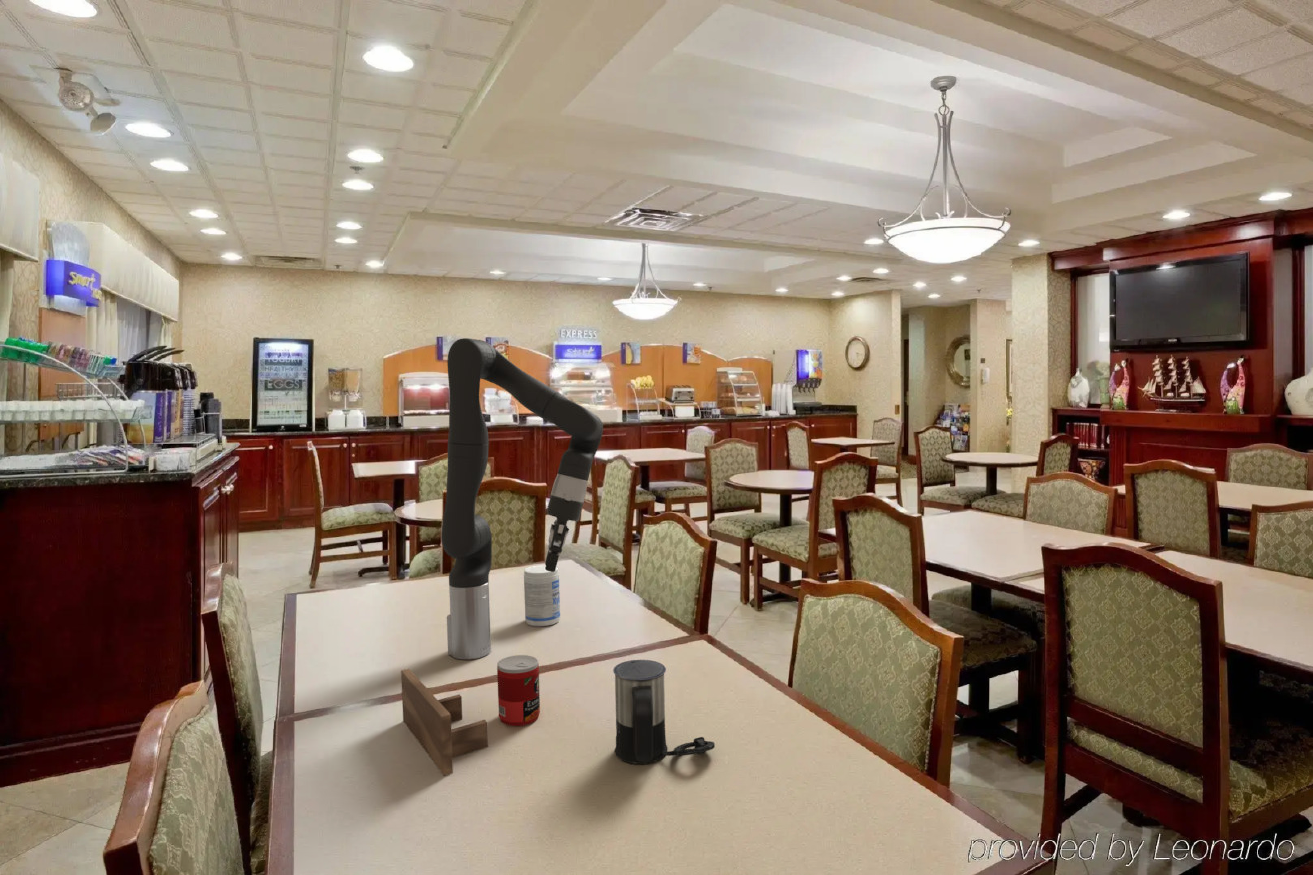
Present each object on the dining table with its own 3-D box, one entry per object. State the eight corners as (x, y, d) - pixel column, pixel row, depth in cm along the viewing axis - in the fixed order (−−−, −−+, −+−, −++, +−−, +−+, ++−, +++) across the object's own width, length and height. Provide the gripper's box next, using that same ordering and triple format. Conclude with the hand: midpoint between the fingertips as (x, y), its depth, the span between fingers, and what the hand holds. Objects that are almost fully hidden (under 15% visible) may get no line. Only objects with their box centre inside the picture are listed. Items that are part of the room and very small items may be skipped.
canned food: (531, 728, 133) (530, 671, 132) (491, 725, 134) (489, 668, 134) (546, 710, 140) (544, 656, 139) (508, 707, 142) (506, 653, 141)
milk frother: (607, 745, 126) (605, 663, 125) (687, 727, 132) (686, 649, 131) (636, 785, 113) (635, 694, 112) (723, 763, 119) (723, 677, 118)
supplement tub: (561, 625, 191) (560, 571, 190) (526, 629, 188) (524, 574, 187) (558, 614, 200) (557, 563, 199) (524, 617, 198) (522, 565, 197)
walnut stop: (451, 708, 142) (450, 659, 141) (498, 758, 122) (496, 701, 122) (403, 721, 136) (401, 670, 136) (443, 775, 117) (441, 716, 116)
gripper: (550, 492, 166) (533, 561, 164) (551, 493, 151) (532, 568, 150) (582, 500, 167) (565, 568, 165) (585, 502, 153) (567, 576, 151)
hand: (549, 568), depth 157 cm, fingers open, 8 cm apart
